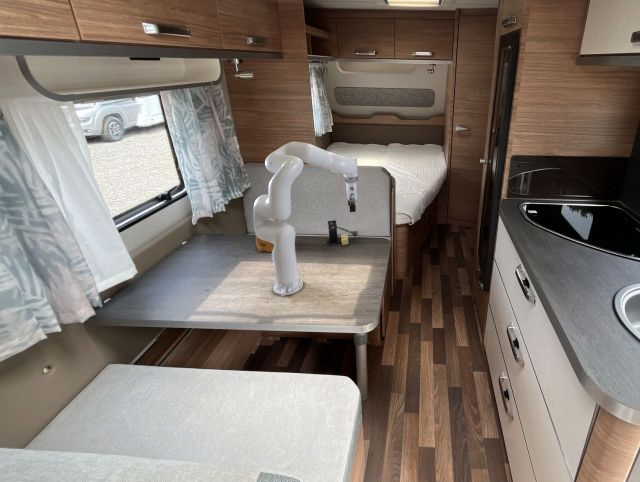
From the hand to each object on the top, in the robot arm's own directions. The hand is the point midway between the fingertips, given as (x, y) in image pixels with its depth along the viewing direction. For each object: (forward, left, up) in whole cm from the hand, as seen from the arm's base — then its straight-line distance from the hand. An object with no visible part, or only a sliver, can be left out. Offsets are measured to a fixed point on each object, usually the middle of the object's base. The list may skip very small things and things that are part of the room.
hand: (351, 208), depth 186 cm
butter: (-1, +5, -20) cm, 21 cm away
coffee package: (+3, +45, -21) cm, 50 cm away
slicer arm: (+1, +6, -14) cm, 15 cm away
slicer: (+1, +11, -20) cm, 23 cm away
